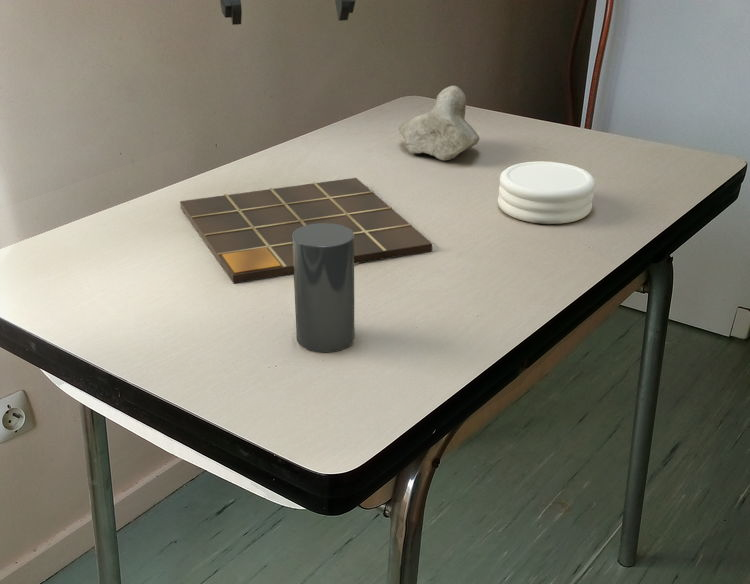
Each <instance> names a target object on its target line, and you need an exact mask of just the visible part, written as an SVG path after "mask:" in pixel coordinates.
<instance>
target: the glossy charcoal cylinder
mask: <svg viewBox="0 0 750 584" xmlns="http://www.w3.org/2000/svg"><path fill="white" fill-rule="evenodd" d="M292 246H293V269H294V274H293V289H294V291H293V293H294V310H295V311H294V314H295V332H296V333H295V337H296V342H297V344H298V345H299V346H300V347H302V349H306V350H308V351H310V352H311V351H312V352H317V353H333V352H338V351H342V350H345V349H347V348H349V347H350V346H351V345H352V344H353V343H354V342H355V338H356V337H355V335H356V332H355V327H356V326H355V325H356V323H355V264H354V233H353V232H352V230H350V229H349V228H347V227H345V226H342V225H338V224H330V223H317V224H310V225H305V226H302V227H300V228H298V229H296V230H295V231H294V232H293V234H292Z"/></svg>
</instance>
